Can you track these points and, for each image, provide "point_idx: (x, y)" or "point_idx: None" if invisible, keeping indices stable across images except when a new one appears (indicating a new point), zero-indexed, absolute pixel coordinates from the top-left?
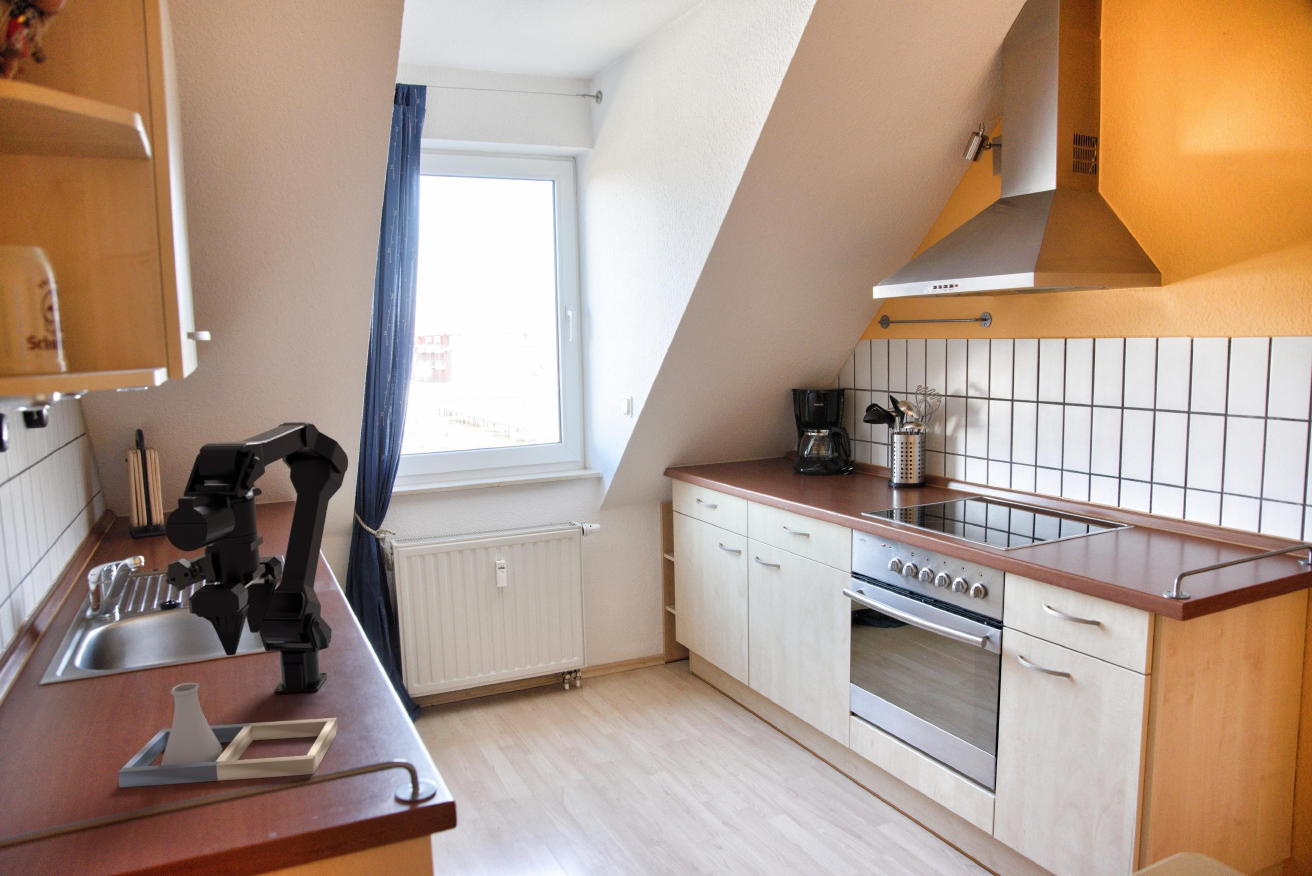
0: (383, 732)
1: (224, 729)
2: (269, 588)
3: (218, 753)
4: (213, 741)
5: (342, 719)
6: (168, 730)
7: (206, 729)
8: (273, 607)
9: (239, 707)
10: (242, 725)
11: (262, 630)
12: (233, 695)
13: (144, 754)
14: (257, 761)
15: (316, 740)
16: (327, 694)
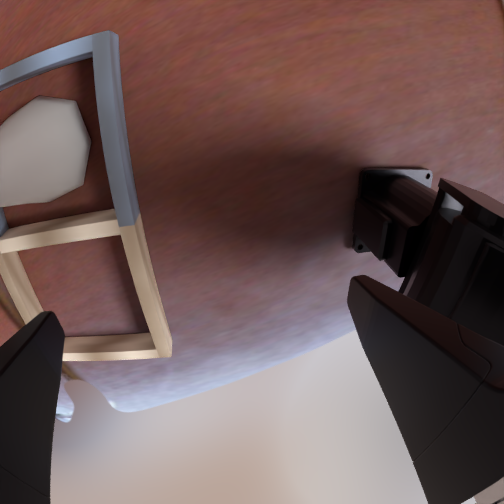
0: (175, 383)
1: (108, 178)
2: (432, 494)
3: (50, 200)
4: (41, 199)
5: (219, 330)
6: (99, 50)
7: (19, 204)
8: (500, 306)
9: (304, 114)
10: (123, 212)
11: (453, 228)
12: (372, 80)
13: (2, 84)
14: (16, 302)
15: (91, 353)
16: (336, 270)
